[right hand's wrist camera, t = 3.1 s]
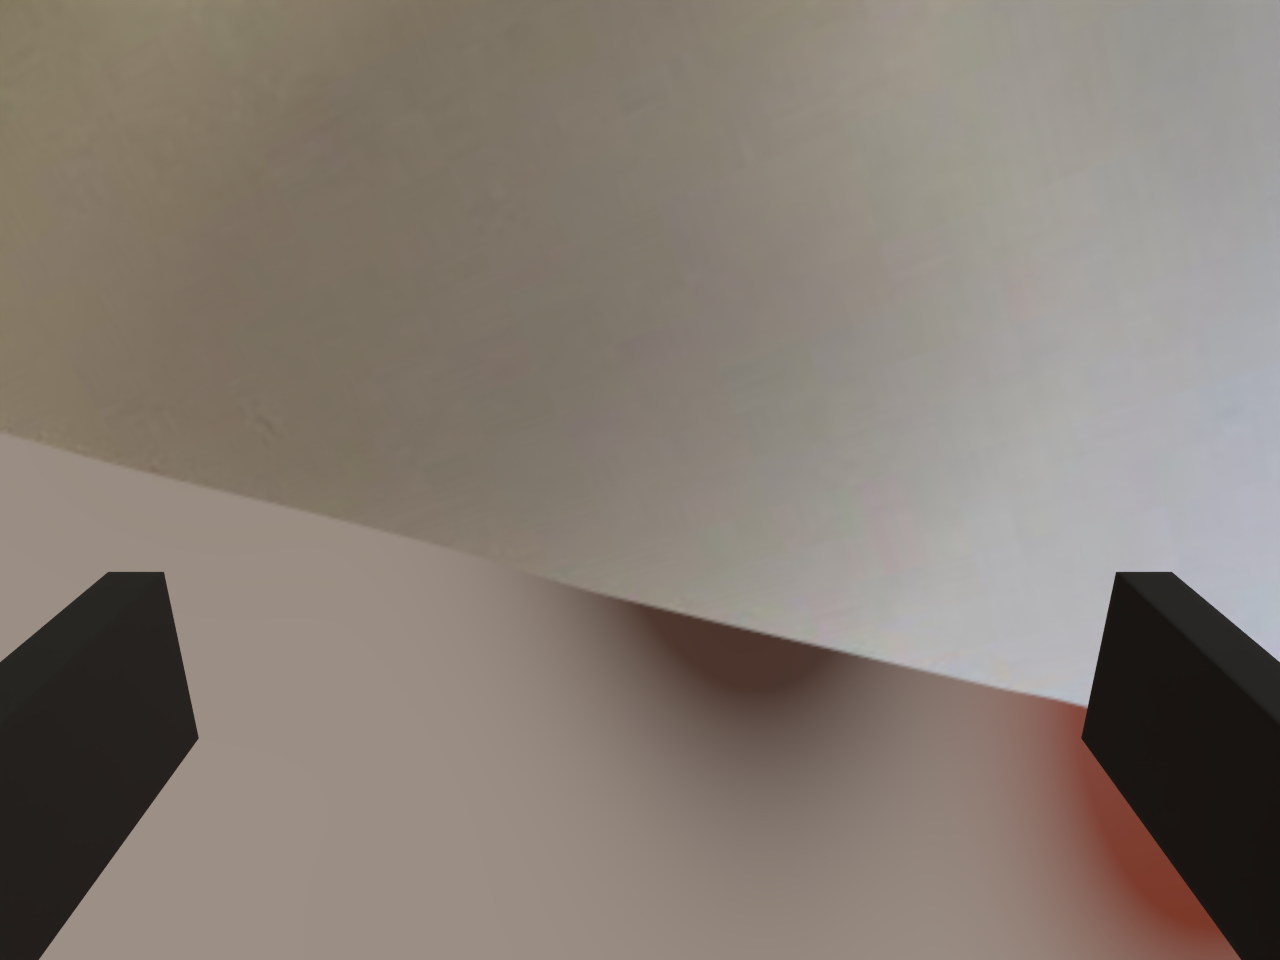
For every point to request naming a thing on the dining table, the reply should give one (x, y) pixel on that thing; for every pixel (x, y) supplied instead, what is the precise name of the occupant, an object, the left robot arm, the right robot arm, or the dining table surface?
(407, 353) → the dining table surface
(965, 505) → the dining table surface
